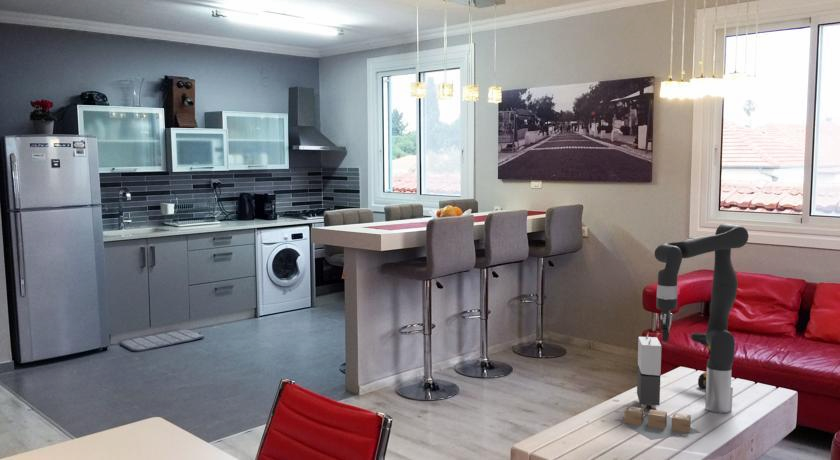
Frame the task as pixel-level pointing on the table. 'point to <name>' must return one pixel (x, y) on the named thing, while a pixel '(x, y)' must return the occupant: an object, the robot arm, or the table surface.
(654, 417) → the plain block
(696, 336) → the power drill
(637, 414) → the marked block 1
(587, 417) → the table surface
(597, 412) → the table surface
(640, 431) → the mat
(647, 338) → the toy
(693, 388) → the table surface
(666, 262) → the robot arm
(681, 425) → the marked block 2
